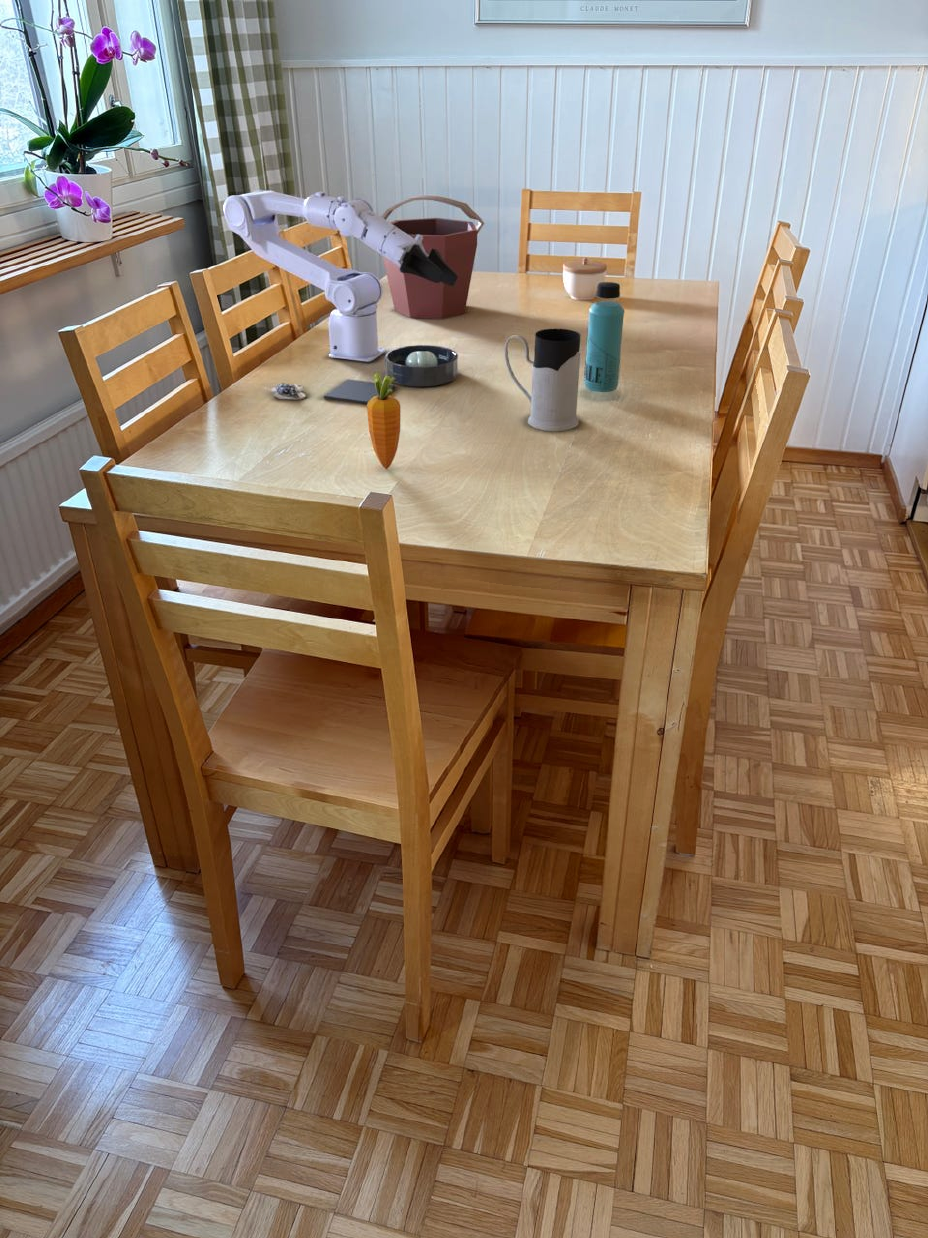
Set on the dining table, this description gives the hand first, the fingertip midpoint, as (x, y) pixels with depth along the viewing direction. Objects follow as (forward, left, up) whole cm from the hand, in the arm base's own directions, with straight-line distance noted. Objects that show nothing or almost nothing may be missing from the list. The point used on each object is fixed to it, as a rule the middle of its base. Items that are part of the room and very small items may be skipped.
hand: (448, 279), depth 176 cm
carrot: (+8, -48, -18) cm, 52 cm away
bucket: (-21, +41, -18) cm, 49 cm away
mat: (-11, -18, -17) cm, 27 cm away
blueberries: (-23, -23, -18) cm, 37 cm away
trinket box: (+10, +66, -18) cm, 69 cm away
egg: (-4, -5, -15) cm, 16 cm away
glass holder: (+24, -19, -17) cm, 36 cm away
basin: (-4, -5, -17) cm, 18 cm away
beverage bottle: (+31, -3, -18) cm, 36 cm away
